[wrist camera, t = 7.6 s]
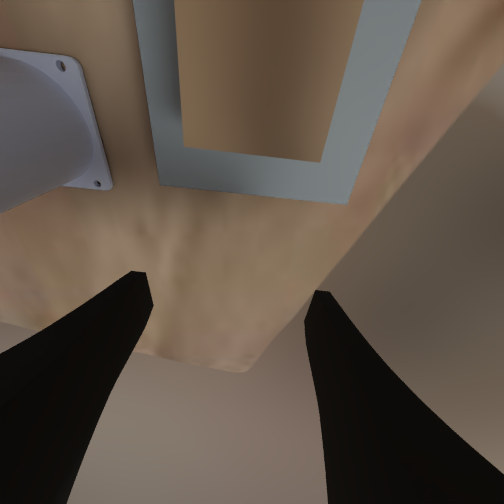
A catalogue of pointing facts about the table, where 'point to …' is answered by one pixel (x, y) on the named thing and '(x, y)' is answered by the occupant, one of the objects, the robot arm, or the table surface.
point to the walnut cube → (262, 73)
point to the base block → (262, 167)
